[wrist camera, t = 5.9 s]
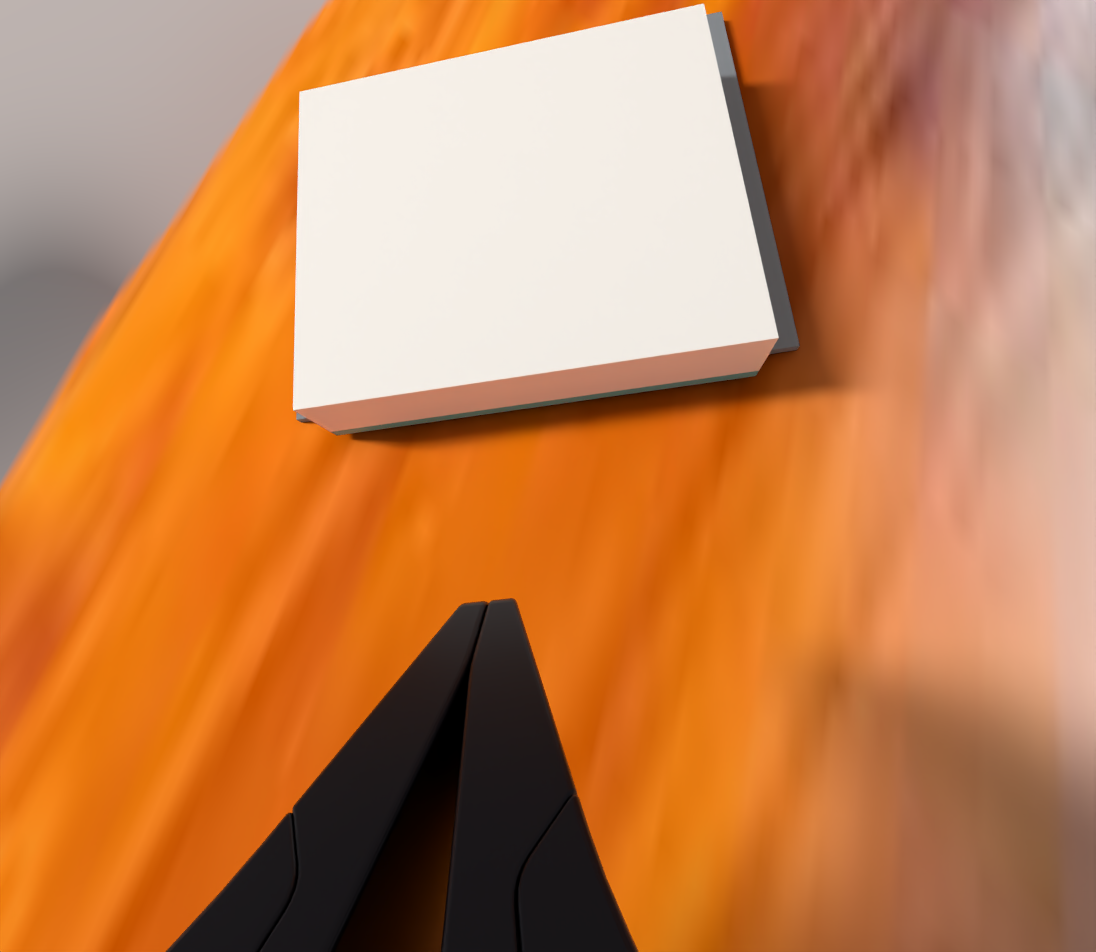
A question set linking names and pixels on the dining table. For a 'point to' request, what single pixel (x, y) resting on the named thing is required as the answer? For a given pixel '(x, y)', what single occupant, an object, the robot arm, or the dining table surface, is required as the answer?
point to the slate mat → (749, 192)
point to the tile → (524, 231)
